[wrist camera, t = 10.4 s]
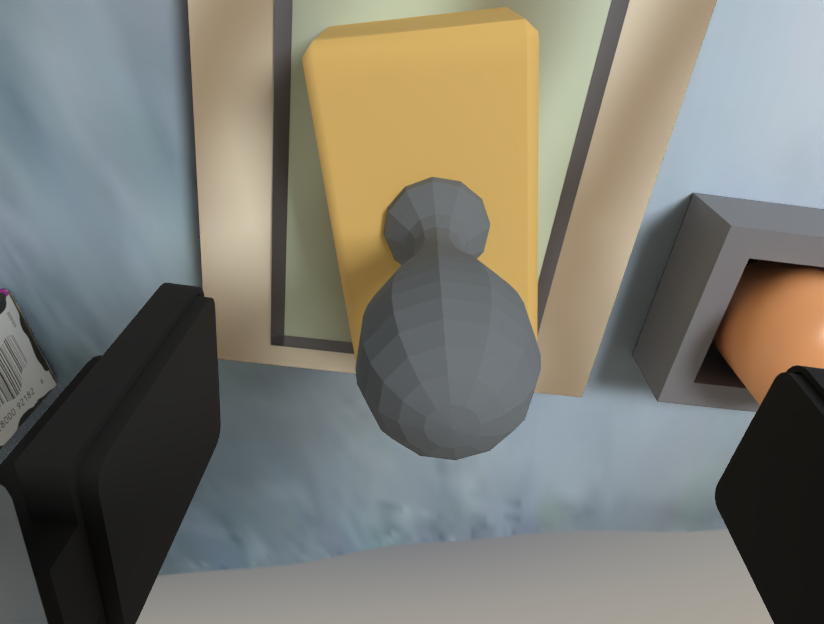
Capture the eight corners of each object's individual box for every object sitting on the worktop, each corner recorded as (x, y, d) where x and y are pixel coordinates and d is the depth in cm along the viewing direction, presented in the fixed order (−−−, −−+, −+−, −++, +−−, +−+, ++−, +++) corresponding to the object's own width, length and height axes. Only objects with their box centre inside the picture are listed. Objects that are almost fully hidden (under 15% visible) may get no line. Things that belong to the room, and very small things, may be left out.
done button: (854, 263, 21) (927, 314, 18) (798, 365, 24) (854, 426, 20) (733, 248, 21) (786, 297, 18) (688, 353, 23) (728, 413, 20)
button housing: (880, 216, 22) (942, 251, 19) (795, 373, 26) (837, 420, 23) (693, 192, 22) (731, 225, 19) (632, 355, 25) (657, 401, 23)
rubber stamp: (521, 305, 22) (612, 607, 12) (365, 318, 23) (324, 624, 12) (518, 5, 17) (668, 83, 7) (318, 27, 18) (183, 132, 7)
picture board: (719, -63, 18) (740, -64, 17) (575, 379, 26) (582, 399, 25) (194, -144, 17) (178, -151, 16) (215, 341, 25) (205, 359, 24)
